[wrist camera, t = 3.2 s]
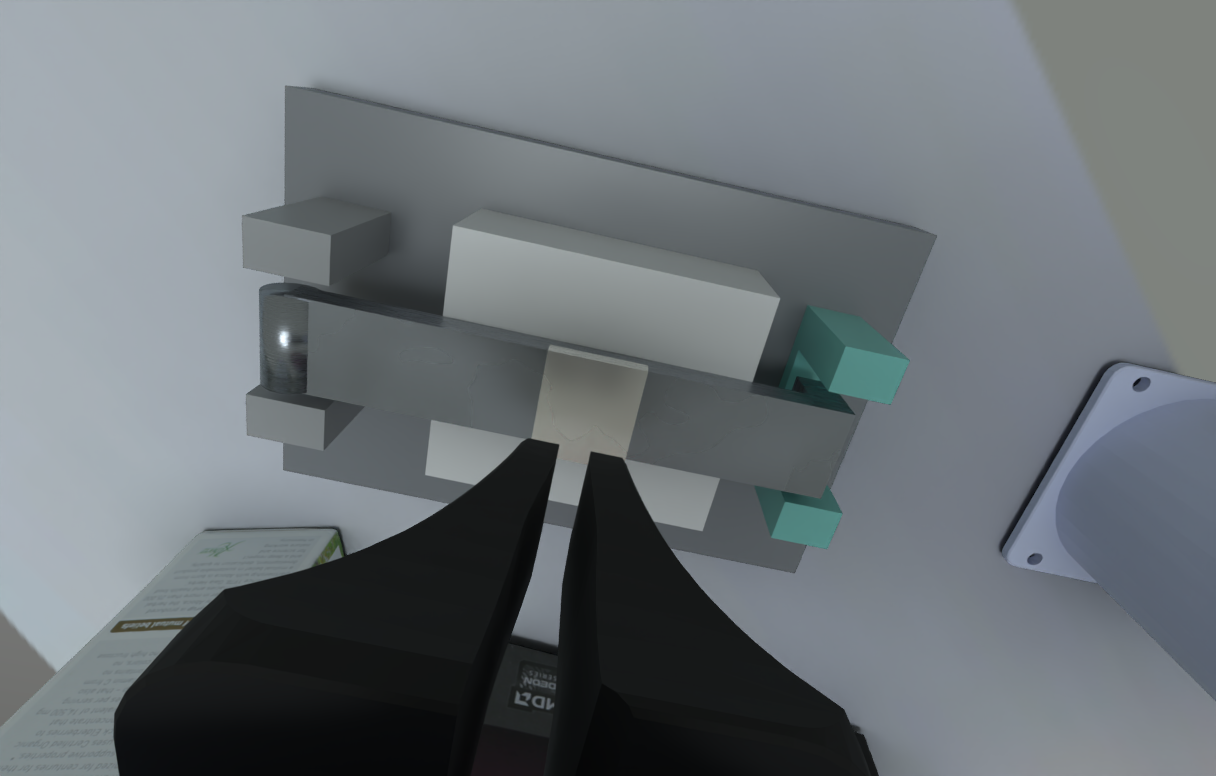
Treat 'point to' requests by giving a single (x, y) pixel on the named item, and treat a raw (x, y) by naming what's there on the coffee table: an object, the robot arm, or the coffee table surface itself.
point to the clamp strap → (549, 390)
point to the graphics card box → (531, 717)
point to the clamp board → (589, 199)
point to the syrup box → (143, 647)
